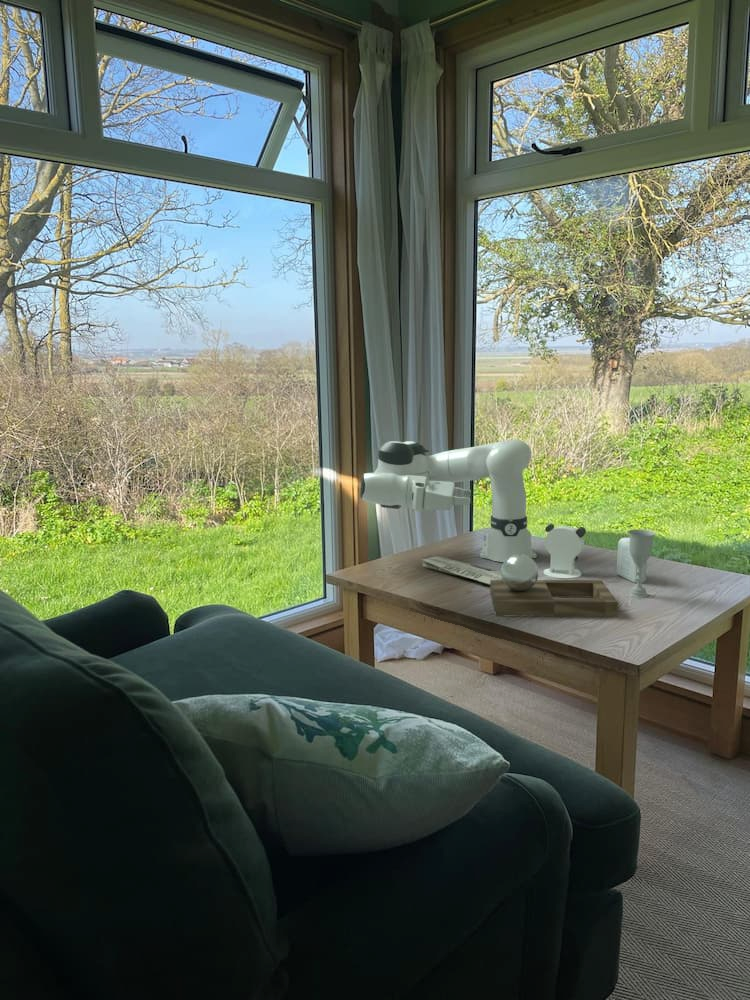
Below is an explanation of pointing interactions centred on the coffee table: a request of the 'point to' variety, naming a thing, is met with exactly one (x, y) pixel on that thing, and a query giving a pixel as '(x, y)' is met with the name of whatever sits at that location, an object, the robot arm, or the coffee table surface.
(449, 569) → the newspaper
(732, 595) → the coffee table surface
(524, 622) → the coffee table surface
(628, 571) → the white rounded block
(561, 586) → the brown slotted slab
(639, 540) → the chalice
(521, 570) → the steel ball
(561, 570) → the panda figurine
